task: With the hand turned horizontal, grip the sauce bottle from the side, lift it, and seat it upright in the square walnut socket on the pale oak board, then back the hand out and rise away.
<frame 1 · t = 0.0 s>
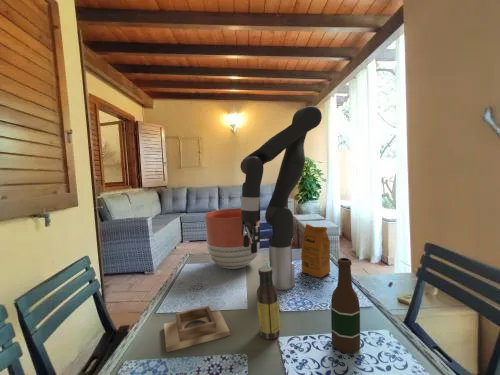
hand: (249, 249, 105), 17 cm above the table, tool pointing down, fingers open, 8 cm apart
socket board: (195, 331, 82), on the table
beer bottle: (345, 345, 74), on the table
sauce bottle: (269, 334, 80), on the table
coffee package: (315, 273, 123), on the table
planter: (234, 266, 135), on the table
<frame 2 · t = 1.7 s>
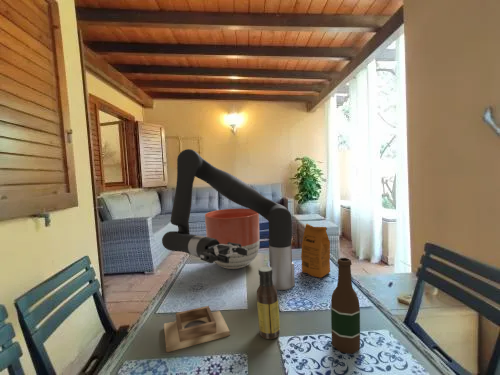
hand: (237, 255, 85), 22 cm above the table, tool horizontal, fingers open, 8 cm apart
nothing on the table moved.
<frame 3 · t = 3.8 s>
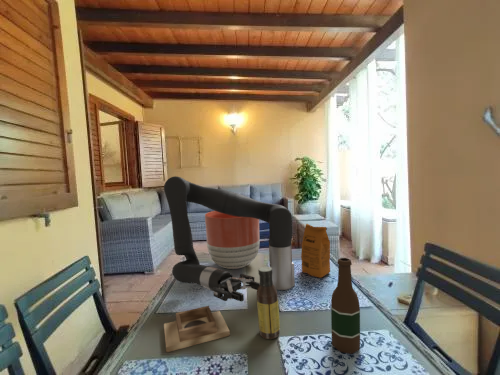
hand: (252, 292, 83), 11 cm above the table, tool horizontal, fingers open, 8 cm apart
nothing on the table moved.
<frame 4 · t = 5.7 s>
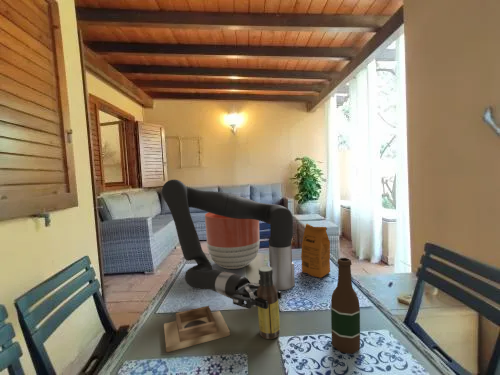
hand: (274, 300, 77), 11 cm above the table, tool horizontal, fingers closed on sauce bottle, 6 cm apart
sauce bottle: (269, 334, 80), on the table, touching gripper
everything else where it was.
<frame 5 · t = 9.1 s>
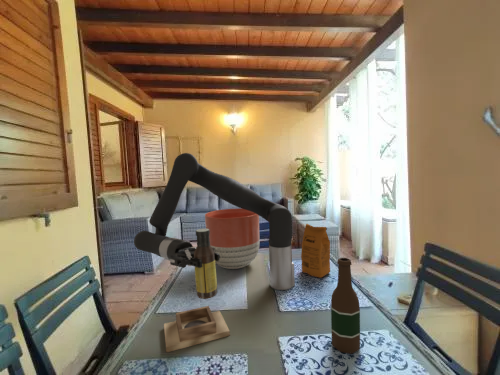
hand: (210, 260, 78), 23 cm above the table, tool horizontal, fingers closed on sauce bottle, 6 cm apart
sauce bottle: (206, 295, 81), point 12 cm above the table, touching gripper
everything else where it was.
when the fingers open (14 cm above the table, at t = 12.3 s): sauce bottle stays where it is, resting on socket board.
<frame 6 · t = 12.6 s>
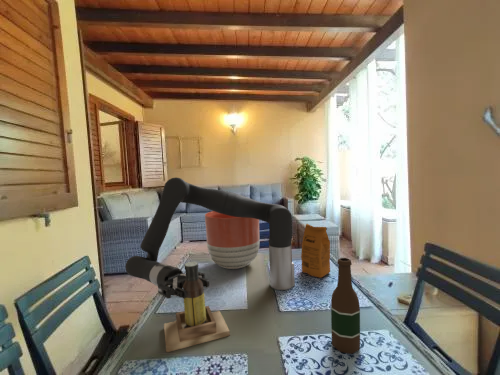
hand: (197, 289, 80), 14 cm above the table, tool horizontal, fingers open, 8 cm apart
sauce bottle: (195, 326, 82), point 1 cm above the table, touching socket board
everything else where it was.
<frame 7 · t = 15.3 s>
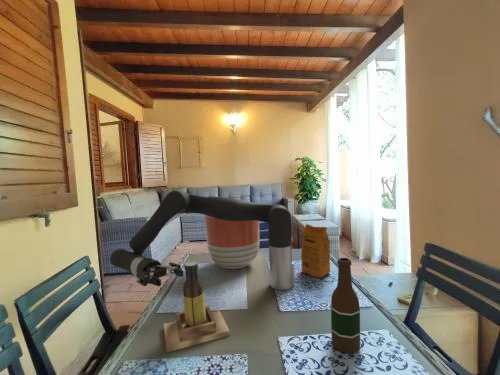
hand: (171, 278, 88), 14 cm above the table, tool horizontal, fingers open, 8 cm apart
nothing on the table moved.
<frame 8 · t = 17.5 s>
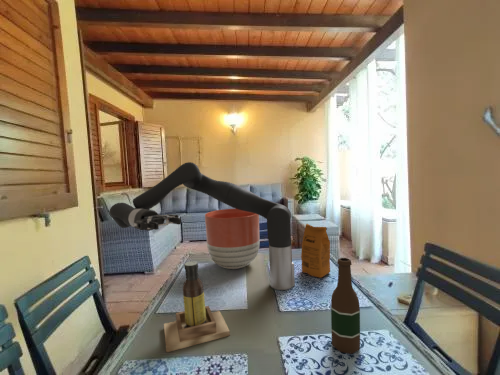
hand: (169, 223, 88), 32 cm above the table, tool horizontal, fingers open, 8 cm apart
nothing on the table moved.
at the end: sauce bottle 0.2 cm off-centre on the socket board, point 1.4 cm above the socket board's base; sauce bottle tilted 0°; the gripper is holding nothing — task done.
